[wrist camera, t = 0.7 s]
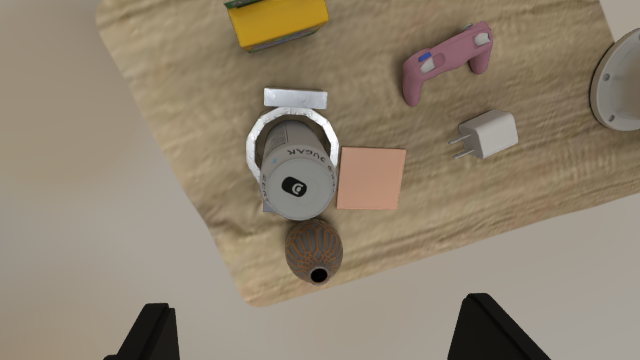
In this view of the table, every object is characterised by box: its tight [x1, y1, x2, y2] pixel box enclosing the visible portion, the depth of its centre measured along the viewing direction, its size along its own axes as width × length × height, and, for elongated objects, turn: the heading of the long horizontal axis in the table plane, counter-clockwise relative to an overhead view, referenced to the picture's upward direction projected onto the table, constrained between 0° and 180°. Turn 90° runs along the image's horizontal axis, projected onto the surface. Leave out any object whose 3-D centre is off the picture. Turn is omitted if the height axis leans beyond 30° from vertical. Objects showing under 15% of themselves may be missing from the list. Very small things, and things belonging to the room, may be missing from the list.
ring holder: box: [246, 86, 339, 212], centre depth 34 cm, size 13×10×5 cm
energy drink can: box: [259, 120, 337, 220], centre depth 29 cm, size 6×6×15 cm
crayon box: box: [223, 0, 329, 53], centre depth 27 cm, size 7×3×12 cm, turn 106°
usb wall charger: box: [447, 110, 518, 159], centre depth 37 cm, size 4×7×4 cm, turn 113°
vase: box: [285, 219, 343, 285], centre depth 37 cm, size 7×7×9 cm
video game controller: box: [402, 21, 493, 107], centre depth 33 cm, size 10×5×7 cm, turn 115°
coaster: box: [336, 146, 406, 210], centre depth 39 cm, size 8×8×1 cm
